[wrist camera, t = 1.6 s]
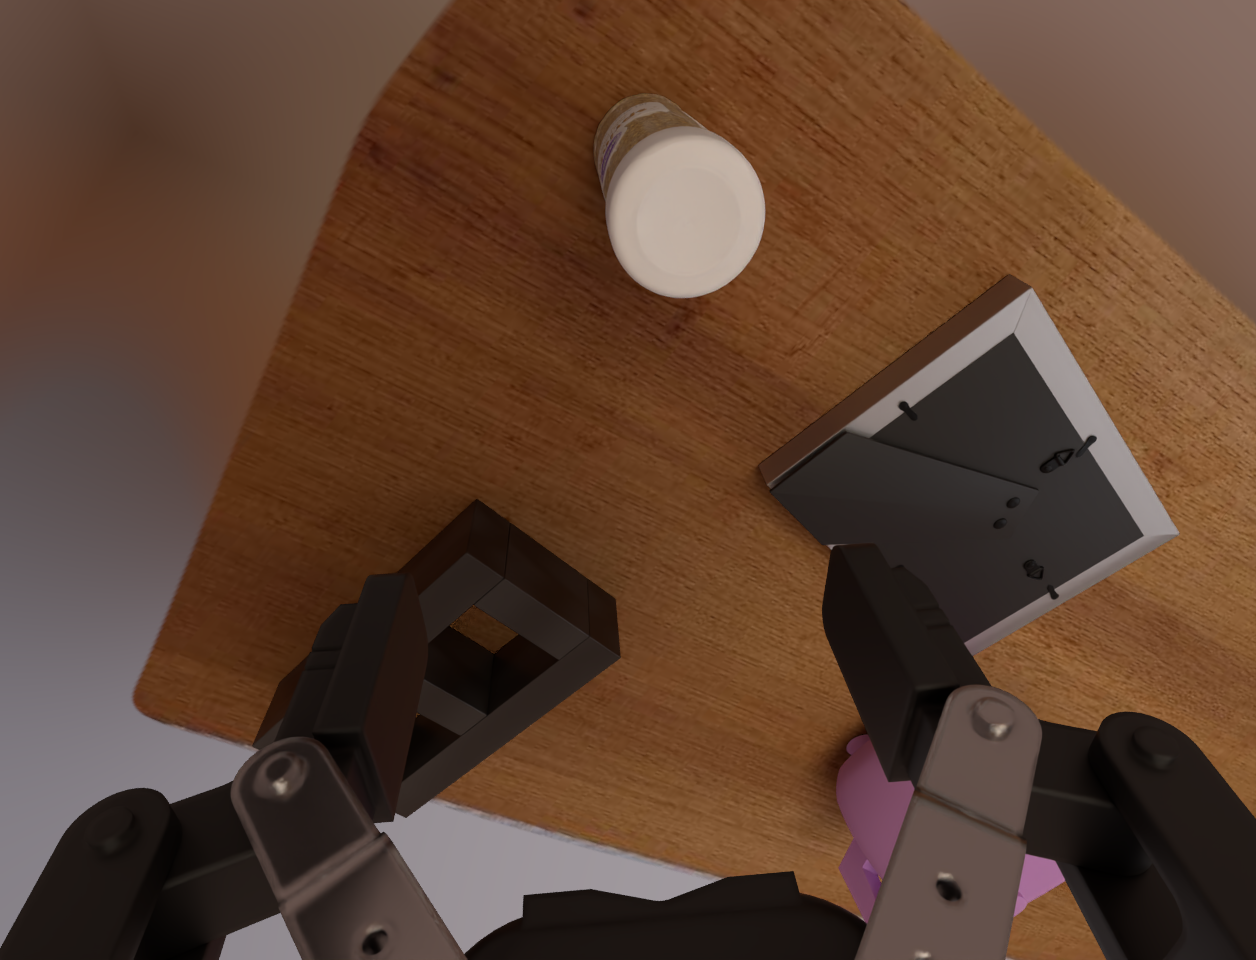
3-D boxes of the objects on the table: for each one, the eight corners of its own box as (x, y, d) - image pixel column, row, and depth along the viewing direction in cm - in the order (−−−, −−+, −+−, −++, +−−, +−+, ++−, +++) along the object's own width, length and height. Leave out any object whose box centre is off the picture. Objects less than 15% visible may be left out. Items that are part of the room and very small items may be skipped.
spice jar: (598, 86, 30) (618, 124, 19) (704, 100, 31) (785, 145, 19) (588, 200, 33) (600, 295, 21) (687, 211, 33) (750, 309, 22)
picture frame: (758, 464, 41) (936, 646, 50) (769, 492, 38) (954, 678, 48) (1009, 273, 36) (1156, 514, 45) (1040, 291, 34) (1189, 541, 43)
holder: (279, 682, 47) (251, 746, 43) (476, 497, 41) (466, 552, 36) (419, 753, 52) (406, 818, 48) (615, 599, 45) (621, 657, 41)
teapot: (870, 828, 61) (935, 998, 51) (772, 774, 56) (821, 951, 46) (1079, 698, 54) (1205, 865, 43) (988, 624, 49) (1106, 792, 38)
